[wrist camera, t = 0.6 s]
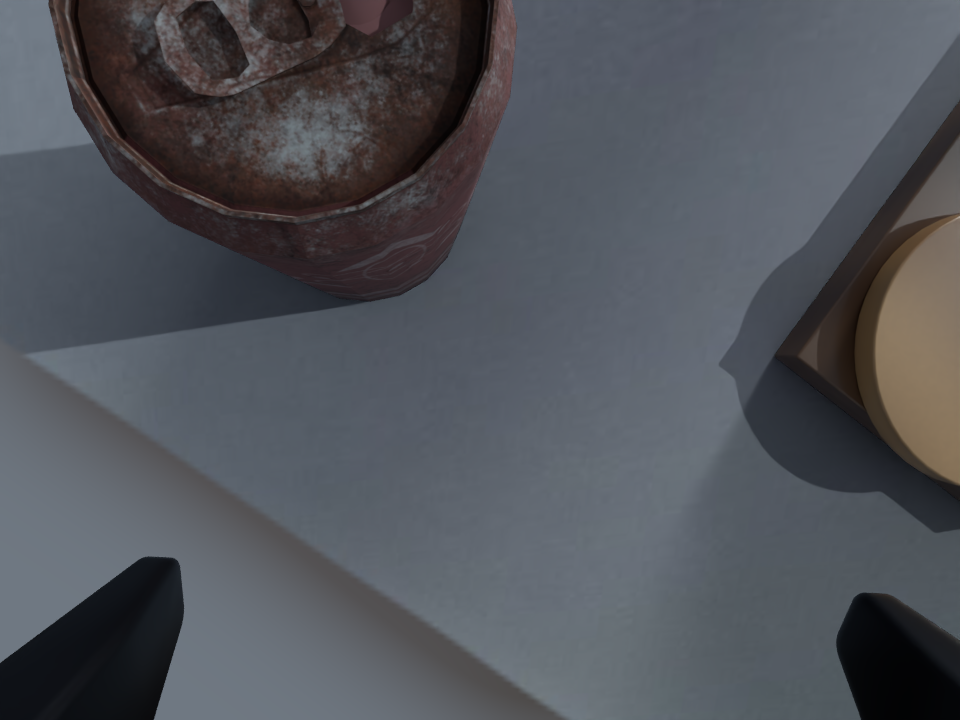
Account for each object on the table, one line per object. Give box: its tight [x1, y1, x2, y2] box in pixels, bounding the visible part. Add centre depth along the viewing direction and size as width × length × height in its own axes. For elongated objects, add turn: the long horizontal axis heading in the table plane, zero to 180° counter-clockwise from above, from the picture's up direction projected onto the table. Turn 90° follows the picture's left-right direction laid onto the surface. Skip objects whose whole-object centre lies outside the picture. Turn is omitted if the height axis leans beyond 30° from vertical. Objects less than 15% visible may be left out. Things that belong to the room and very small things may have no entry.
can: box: [48, 0, 517, 302], centre depth 15 cm, size 6×6×14 cm
